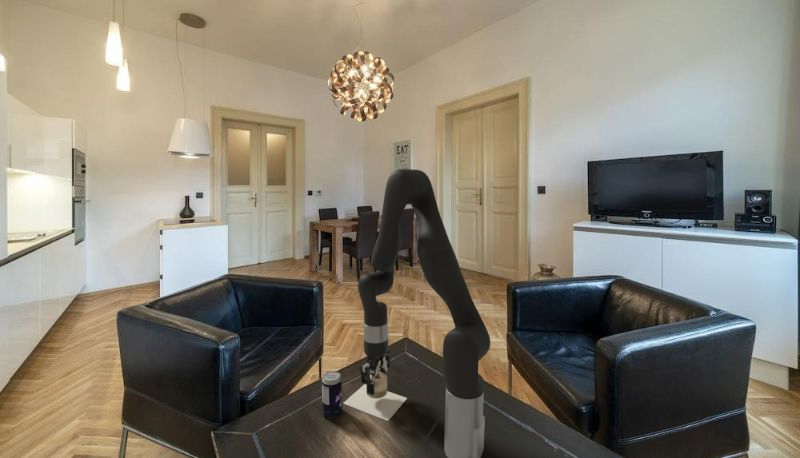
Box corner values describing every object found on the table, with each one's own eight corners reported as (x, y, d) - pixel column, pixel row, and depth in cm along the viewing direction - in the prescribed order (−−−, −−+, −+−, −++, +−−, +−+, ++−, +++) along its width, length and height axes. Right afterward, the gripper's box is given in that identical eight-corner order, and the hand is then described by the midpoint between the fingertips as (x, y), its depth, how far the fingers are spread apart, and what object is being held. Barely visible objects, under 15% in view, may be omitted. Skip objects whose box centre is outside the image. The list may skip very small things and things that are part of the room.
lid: (391, 389, 105) (390, 371, 104) (380, 400, 99) (379, 381, 99) (373, 384, 108) (373, 366, 107) (362, 394, 102) (362, 376, 102)
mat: (407, 399, 106) (407, 398, 106) (387, 422, 95) (387, 420, 95) (365, 384, 113) (365, 383, 113) (343, 404, 103) (343, 403, 103)
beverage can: (337, 422, 95) (337, 382, 94) (319, 419, 96) (318, 380, 95) (345, 409, 101) (344, 371, 99) (327, 406, 102) (326, 369, 100)
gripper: (373, 349, 94) (374, 405, 95) (398, 330, 106) (398, 380, 108) (351, 343, 97) (353, 397, 99) (378, 326, 110) (379, 374, 112)
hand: (376, 388), depth 104 cm, fingers closed on lid, 6 cm apart
